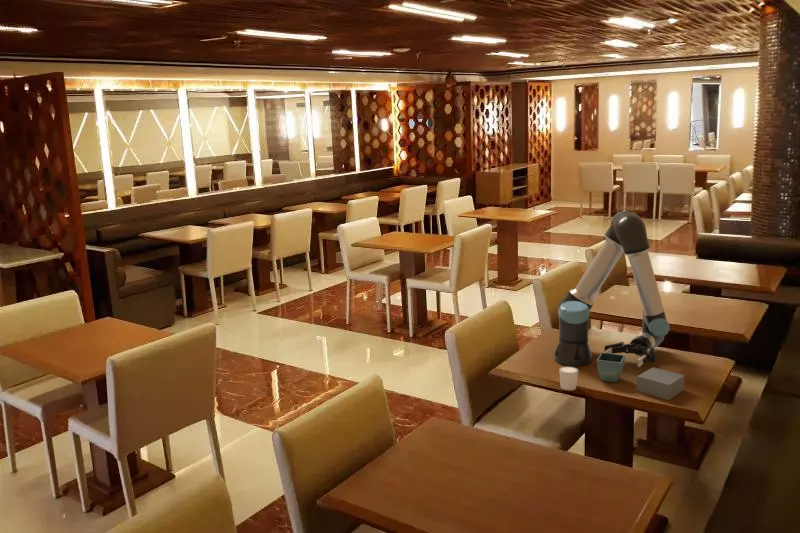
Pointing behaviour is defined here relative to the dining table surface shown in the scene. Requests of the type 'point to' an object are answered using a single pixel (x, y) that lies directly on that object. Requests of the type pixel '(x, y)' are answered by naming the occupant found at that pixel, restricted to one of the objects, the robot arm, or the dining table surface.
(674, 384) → the charcoal stand
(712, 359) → the dining table surface
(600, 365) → the flower pot
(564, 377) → the shot glass
